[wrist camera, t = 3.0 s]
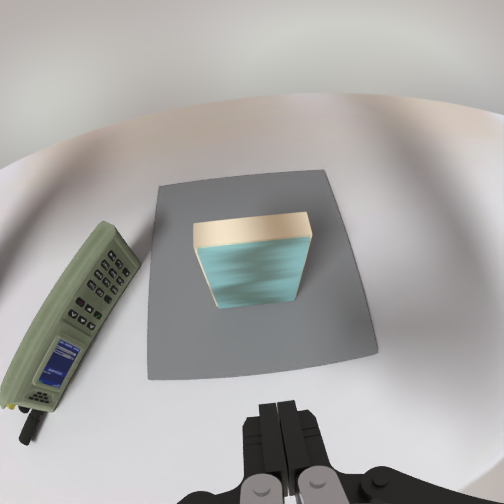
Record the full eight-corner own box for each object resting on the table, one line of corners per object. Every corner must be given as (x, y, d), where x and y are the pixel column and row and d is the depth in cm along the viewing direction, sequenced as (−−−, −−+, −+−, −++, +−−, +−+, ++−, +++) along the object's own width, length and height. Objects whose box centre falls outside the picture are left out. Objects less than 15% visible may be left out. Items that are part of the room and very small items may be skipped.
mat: (150, 380, 22) (147, 379, 22) (160, 189, 34) (159, 186, 33) (375, 353, 23) (378, 352, 22) (322, 173, 34) (323, 169, 34)
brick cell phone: (146, 266, 29) (40, 453, 17) (125, 254, 30) (23, 433, 18) (119, 227, 23) (-5, 450, 12) (97, 217, 24) (-20, 426, 13)
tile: (217, 309, 25) (193, 251, 16) (215, 289, 26) (193, 223, 18) (296, 301, 25) (313, 238, 17) (292, 280, 26) (306, 211, 18)
